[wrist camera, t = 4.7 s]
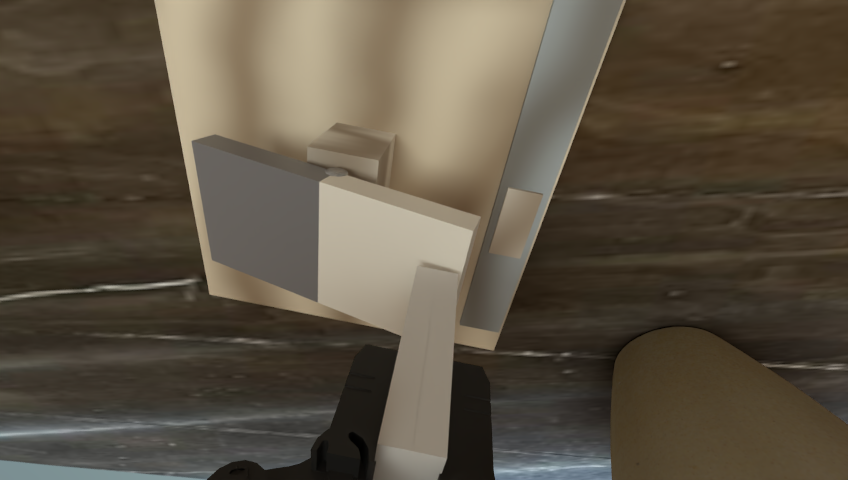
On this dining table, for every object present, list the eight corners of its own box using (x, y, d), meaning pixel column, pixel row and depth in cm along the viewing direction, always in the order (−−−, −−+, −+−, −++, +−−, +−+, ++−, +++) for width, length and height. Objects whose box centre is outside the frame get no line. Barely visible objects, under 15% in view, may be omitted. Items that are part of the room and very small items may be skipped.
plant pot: (519, 356, 29) (563, 666, 15) (718, 240, 22) (1117, 608, 8) (632, 446, 33) (746, 753, 19) (828, 372, 26) (1214, 760, 13)
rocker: (237, 244, 20) (211, 260, 18) (223, 132, 17) (191, 140, 15) (451, 326, 17) (441, 351, 16) (483, 212, 14) (473, 231, 13)
